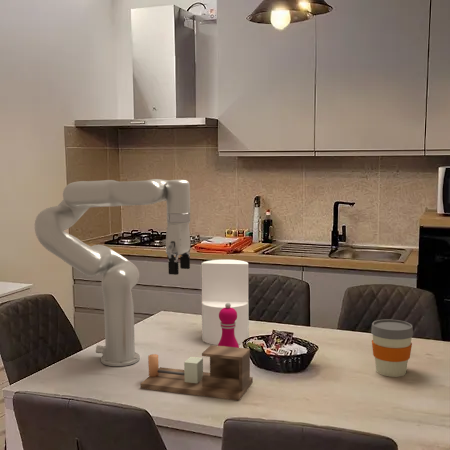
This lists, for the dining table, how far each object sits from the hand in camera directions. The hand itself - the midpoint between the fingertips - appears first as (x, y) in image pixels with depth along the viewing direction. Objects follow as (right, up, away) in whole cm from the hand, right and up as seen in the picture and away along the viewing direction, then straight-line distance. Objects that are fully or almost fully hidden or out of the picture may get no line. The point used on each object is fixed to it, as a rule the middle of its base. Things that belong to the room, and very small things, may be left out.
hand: (179, 271), depth 194 cm
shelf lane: (+6, -32, -16) cm, 37 cm away
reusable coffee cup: (+66, -31, -6) cm, 74 cm away
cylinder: (+15, -27, +29) cm, 43 cm away
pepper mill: (+16, -30, +3) cm, 34 cm away
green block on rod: (0, -31, -14) cm, 34 cm away
